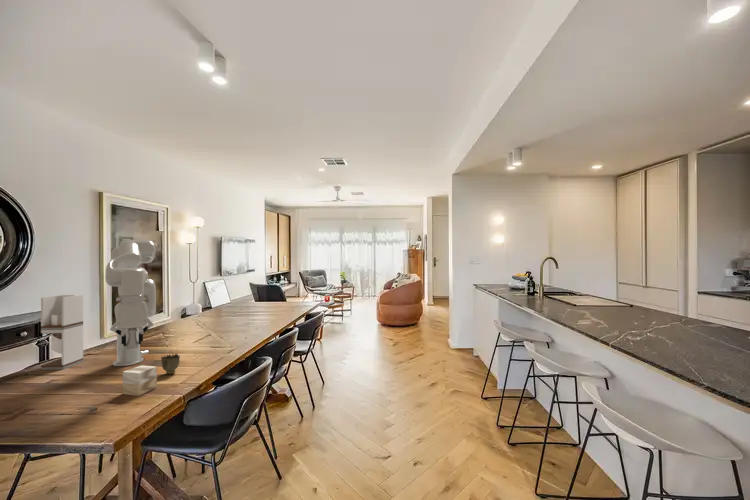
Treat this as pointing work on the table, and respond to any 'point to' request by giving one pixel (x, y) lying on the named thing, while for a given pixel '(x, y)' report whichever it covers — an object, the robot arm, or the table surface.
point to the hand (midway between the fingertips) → (132, 344)
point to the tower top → (139, 374)
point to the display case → (63, 329)
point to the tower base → (139, 387)
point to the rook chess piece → (132, 339)
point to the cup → (170, 363)
